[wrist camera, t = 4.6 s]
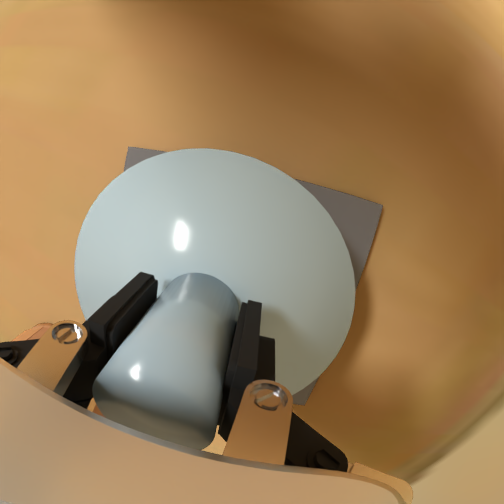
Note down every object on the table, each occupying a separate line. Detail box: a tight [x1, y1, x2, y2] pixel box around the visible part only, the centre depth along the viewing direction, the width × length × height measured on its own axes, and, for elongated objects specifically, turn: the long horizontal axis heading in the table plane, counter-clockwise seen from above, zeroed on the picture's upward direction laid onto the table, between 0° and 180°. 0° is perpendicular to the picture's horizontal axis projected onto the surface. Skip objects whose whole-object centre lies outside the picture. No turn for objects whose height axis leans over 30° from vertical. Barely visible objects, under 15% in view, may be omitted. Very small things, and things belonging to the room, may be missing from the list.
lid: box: [74, 148, 355, 450], centre depth 9 cm, size 13×13×7 cm
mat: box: [124, 147, 383, 405], centre depth 16 cm, size 14×14×1 cm
